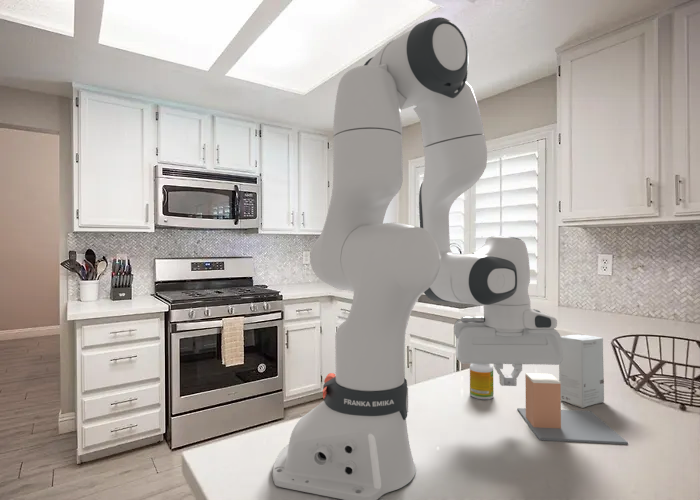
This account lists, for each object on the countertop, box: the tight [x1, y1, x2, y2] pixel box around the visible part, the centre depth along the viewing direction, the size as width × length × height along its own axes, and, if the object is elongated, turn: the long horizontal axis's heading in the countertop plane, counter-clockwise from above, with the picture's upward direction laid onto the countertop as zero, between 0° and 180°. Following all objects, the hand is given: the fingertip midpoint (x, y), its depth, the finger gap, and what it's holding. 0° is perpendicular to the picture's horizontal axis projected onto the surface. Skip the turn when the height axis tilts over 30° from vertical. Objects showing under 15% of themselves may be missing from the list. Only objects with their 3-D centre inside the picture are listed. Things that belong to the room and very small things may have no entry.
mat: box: [516, 407, 629, 445], centre depth 80 cm, size 15×14×1 cm
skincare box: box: [558, 333, 605, 409], centre depth 93 cm, size 8×6×15 cm
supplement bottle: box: [469, 364, 494, 401], centre depth 97 cm, size 5×5×10 cm
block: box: [524, 372, 562, 428], centre depth 81 cm, size 5×5×9 cm
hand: (507, 385), depth 82 cm, fingers closed
